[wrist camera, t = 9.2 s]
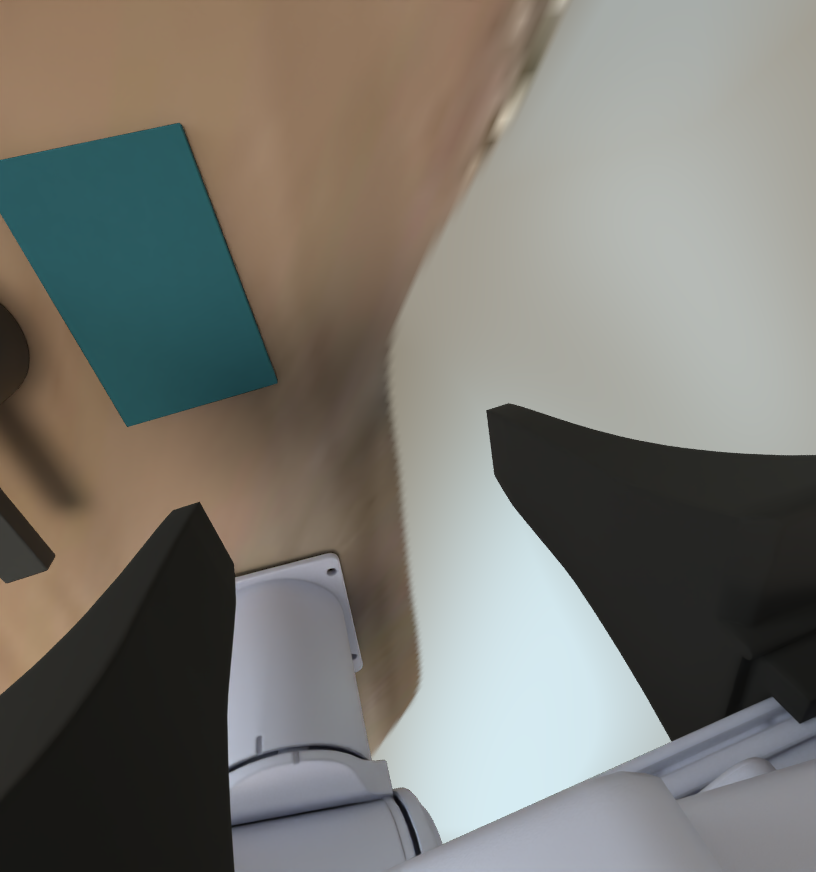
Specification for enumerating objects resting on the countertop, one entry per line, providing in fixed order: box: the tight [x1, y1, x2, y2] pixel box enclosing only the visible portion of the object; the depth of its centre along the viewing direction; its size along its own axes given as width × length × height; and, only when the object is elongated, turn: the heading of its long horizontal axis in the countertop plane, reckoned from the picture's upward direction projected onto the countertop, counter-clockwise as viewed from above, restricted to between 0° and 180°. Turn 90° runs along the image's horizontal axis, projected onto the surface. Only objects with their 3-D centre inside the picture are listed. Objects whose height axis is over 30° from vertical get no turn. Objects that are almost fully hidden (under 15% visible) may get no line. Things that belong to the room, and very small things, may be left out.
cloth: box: [0, 123, 278, 427], centre depth 16 cm, size 6×9×1 cm, turn 12°
